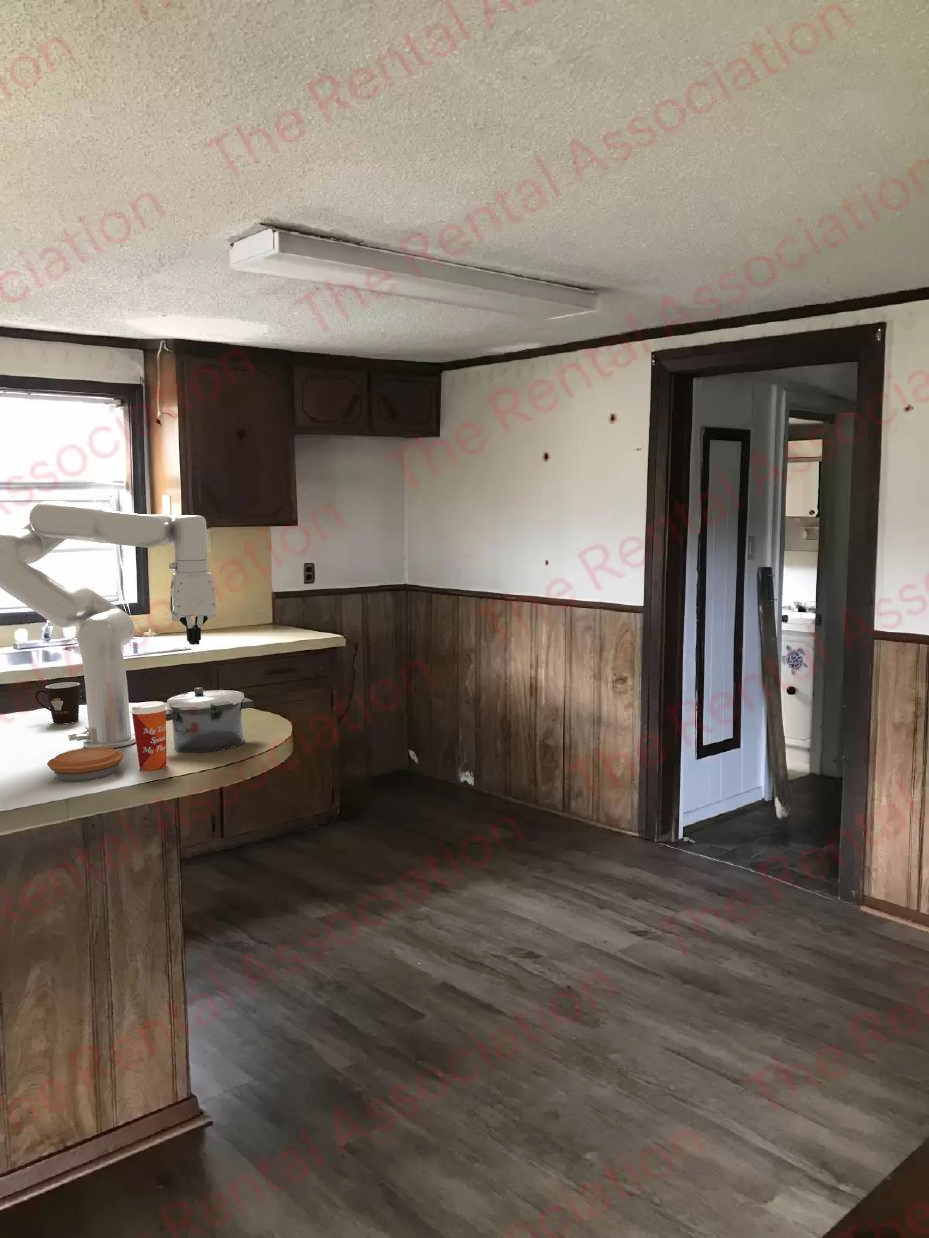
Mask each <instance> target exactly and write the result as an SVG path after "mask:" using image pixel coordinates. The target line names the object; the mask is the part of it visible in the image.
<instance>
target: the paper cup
mask: <svg viewBox="0 0 929 1238" xmlns="http://www.w3.org/2000/svg"><path fill="white" fill-rule="evenodd" d="M166 710H168V706H166V704H165V702H163V701H157V700H154V701H144V702H142V701H141V702H138V703H135V704H132V705H131V710H129V714H131V716H132V722H133V723H132V724H133V730H134V734H135V739H136V742H135V744H136V751H137V759H138V765H139V770H141V771H144V772H145V771H146V772H147V770H149V771H156V770H162V769H164V768H166V767H167V721H166ZM149 771H148V772H149Z"/></svg>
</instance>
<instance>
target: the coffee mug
mask: <svg viewBox="0 0 929 1238" xmlns="http://www.w3.org/2000/svg"><path fill="white" fill-rule="evenodd" d="M80 689H81V683H80V682H74V681H71V682H58V683H52V684H49V685H46V686H45V689H40V690H38V691H36V693H35V696H34V697H35V700H36V702H37V703H38V704H39V705H40V706H41V707H42V708H44V709H45V710H48V711H49V712H50V713H51V714H50V715H51V720H52V723H53V722H54V723H57V724H56V725H66V724H65V723H69V724H73V723H72V722H74V723H76V722H79V719H80V716H79V713H80ZM40 693H45V694H46V695H47V699H48V705H49V707H48V706H47V705H45V704H44V703H43V702H42V701H41V700H40V699H39V694H40ZM54 723H53V724H54Z"/></svg>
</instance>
